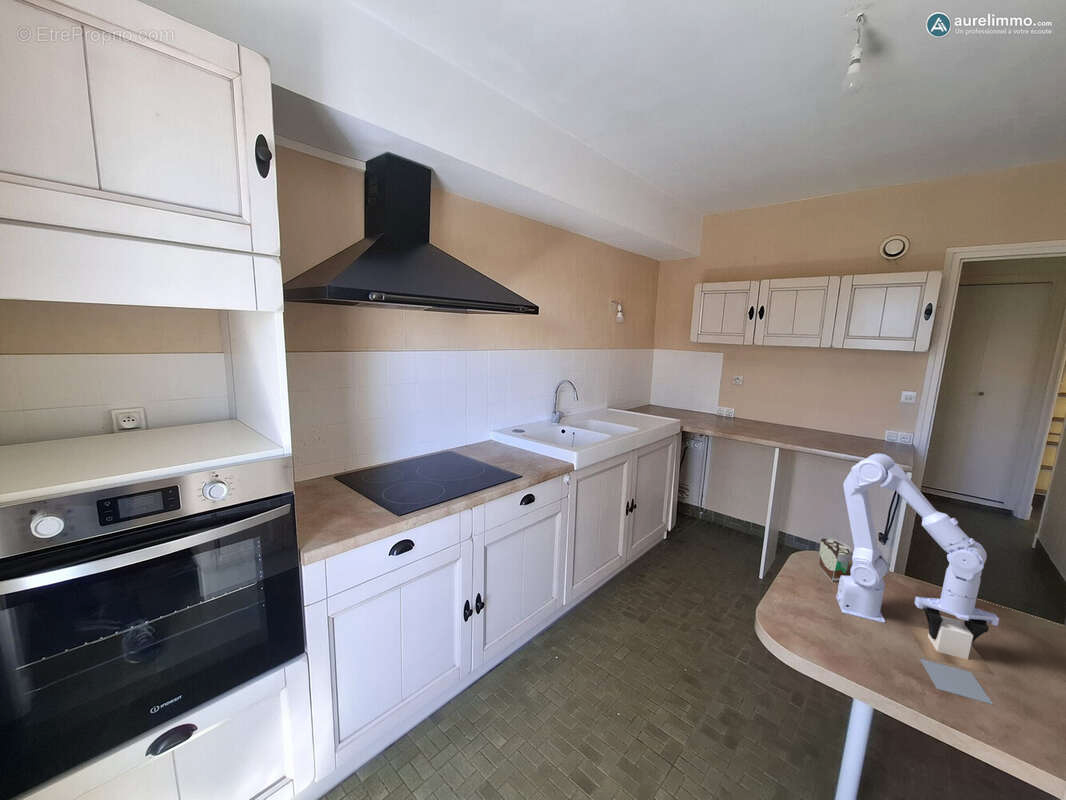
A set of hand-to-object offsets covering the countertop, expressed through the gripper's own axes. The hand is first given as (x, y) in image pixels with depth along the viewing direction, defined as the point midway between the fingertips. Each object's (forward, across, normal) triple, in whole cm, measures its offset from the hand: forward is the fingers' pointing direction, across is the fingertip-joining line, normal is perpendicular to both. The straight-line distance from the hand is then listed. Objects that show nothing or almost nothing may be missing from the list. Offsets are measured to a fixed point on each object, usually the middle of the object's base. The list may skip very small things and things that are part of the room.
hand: (948, 640), depth 102 cm
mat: (+2, -3, -12) cm, 13 cm away
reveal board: (+2, 0, 0) cm, 2 cm away
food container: (+2, -18, +25) cm, 31 cm away
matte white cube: (+2, 0, 0) cm, 2 cm away
